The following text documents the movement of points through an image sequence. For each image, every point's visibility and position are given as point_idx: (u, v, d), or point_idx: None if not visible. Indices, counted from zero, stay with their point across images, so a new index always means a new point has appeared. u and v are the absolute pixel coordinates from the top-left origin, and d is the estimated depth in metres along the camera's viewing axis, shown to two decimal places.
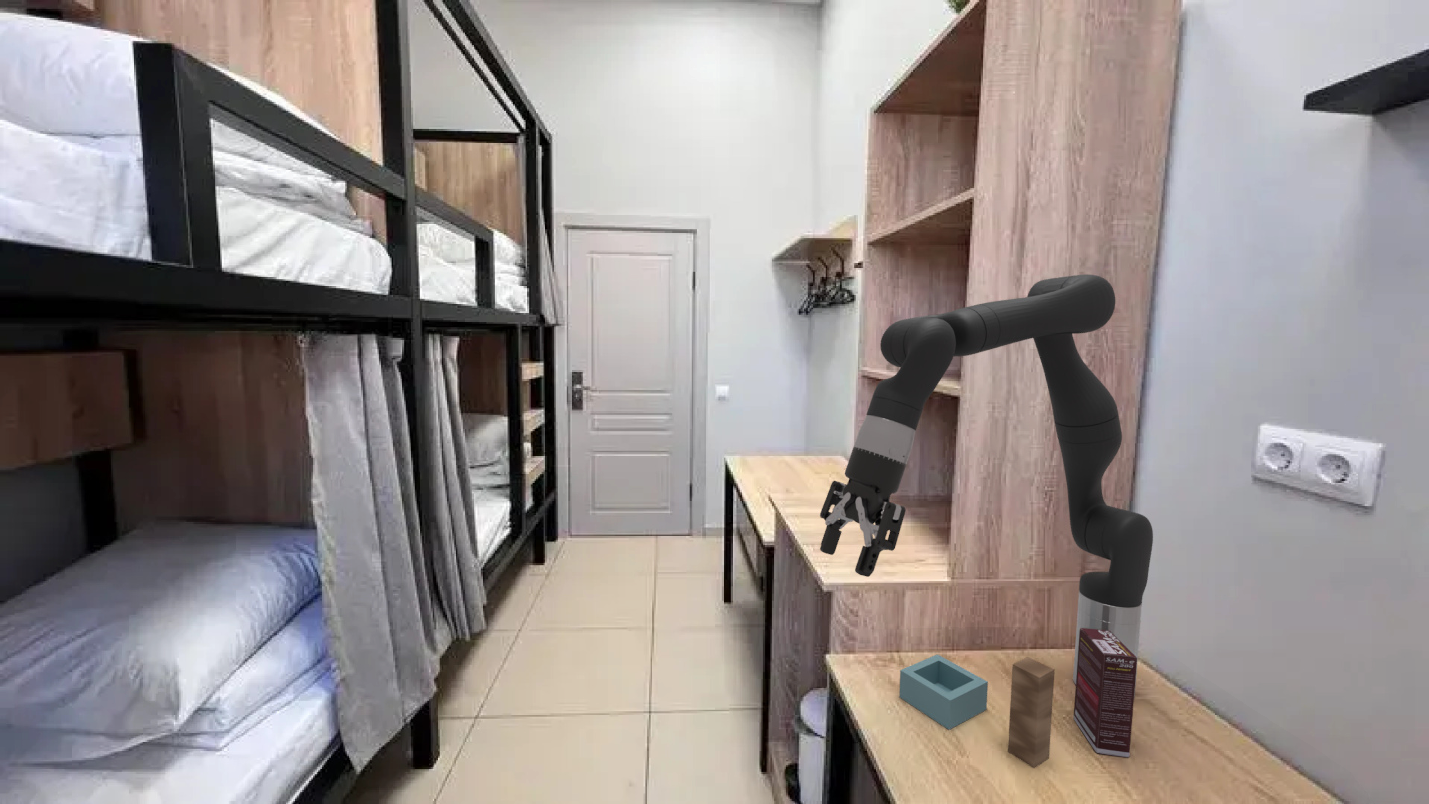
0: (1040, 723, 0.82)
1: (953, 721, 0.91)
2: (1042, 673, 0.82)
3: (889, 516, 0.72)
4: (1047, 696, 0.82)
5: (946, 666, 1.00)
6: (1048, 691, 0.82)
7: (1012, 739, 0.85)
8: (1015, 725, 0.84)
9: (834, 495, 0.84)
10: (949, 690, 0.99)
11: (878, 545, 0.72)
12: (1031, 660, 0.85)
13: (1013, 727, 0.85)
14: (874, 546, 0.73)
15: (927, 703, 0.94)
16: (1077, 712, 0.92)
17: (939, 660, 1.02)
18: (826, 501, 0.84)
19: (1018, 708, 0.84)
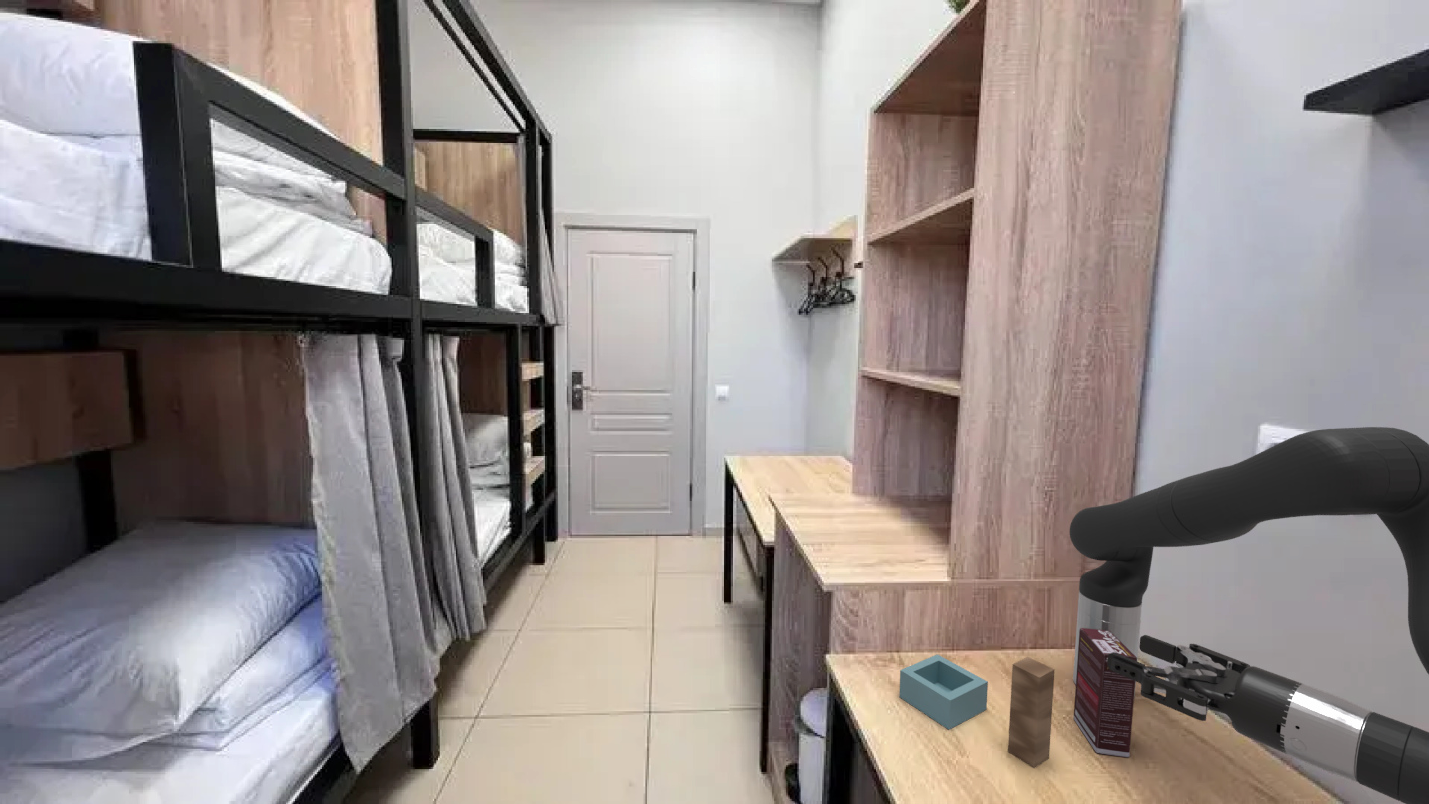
0: (1040, 723, 0.82)
1: (953, 721, 0.91)
2: (1042, 673, 0.82)
3: None
4: (1047, 696, 0.82)
5: (946, 666, 1.00)
6: (1048, 691, 0.82)
7: (1012, 739, 0.85)
8: (1015, 725, 0.84)
9: None
10: (949, 690, 0.99)
11: None
12: (1031, 660, 0.85)
13: (1013, 727, 0.85)
14: None
15: (927, 703, 0.94)
16: (1077, 712, 0.92)
17: (939, 660, 1.02)
18: None
19: (1018, 708, 0.84)
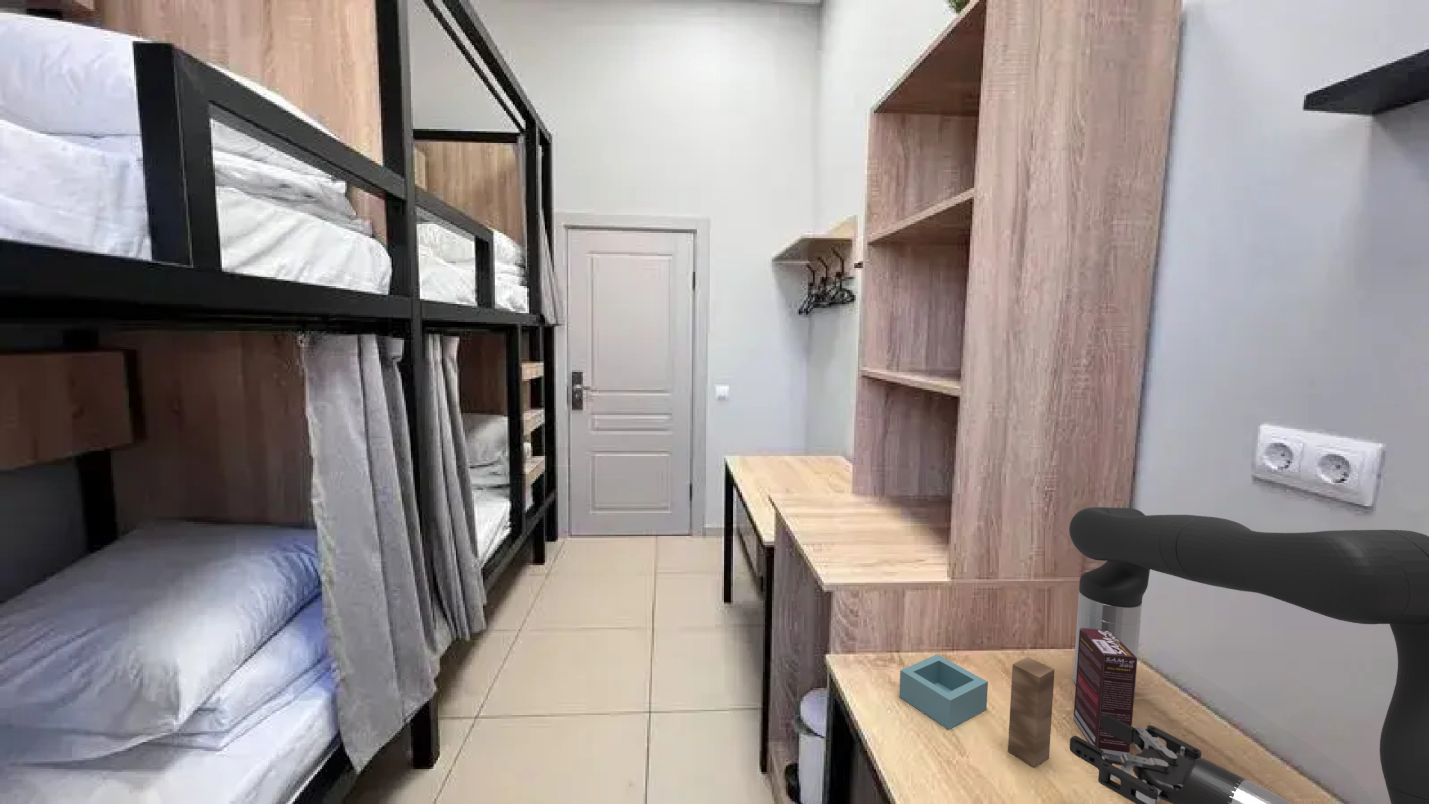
0: (1040, 723, 0.82)
1: (953, 721, 0.91)
2: (1042, 673, 0.82)
3: None
4: (1047, 696, 0.82)
5: (946, 666, 1.00)
6: (1048, 691, 0.82)
7: (1012, 739, 0.85)
8: (1015, 725, 0.84)
9: None
10: (949, 690, 0.99)
11: None
12: (1031, 660, 0.85)
13: (1013, 727, 0.85)
14: None
15: (927, 703, 0.94)
16: (1077, 712, 0.92)
17: (939, 660, 1.02)
18: None
19: (1018, 708, 0.84)
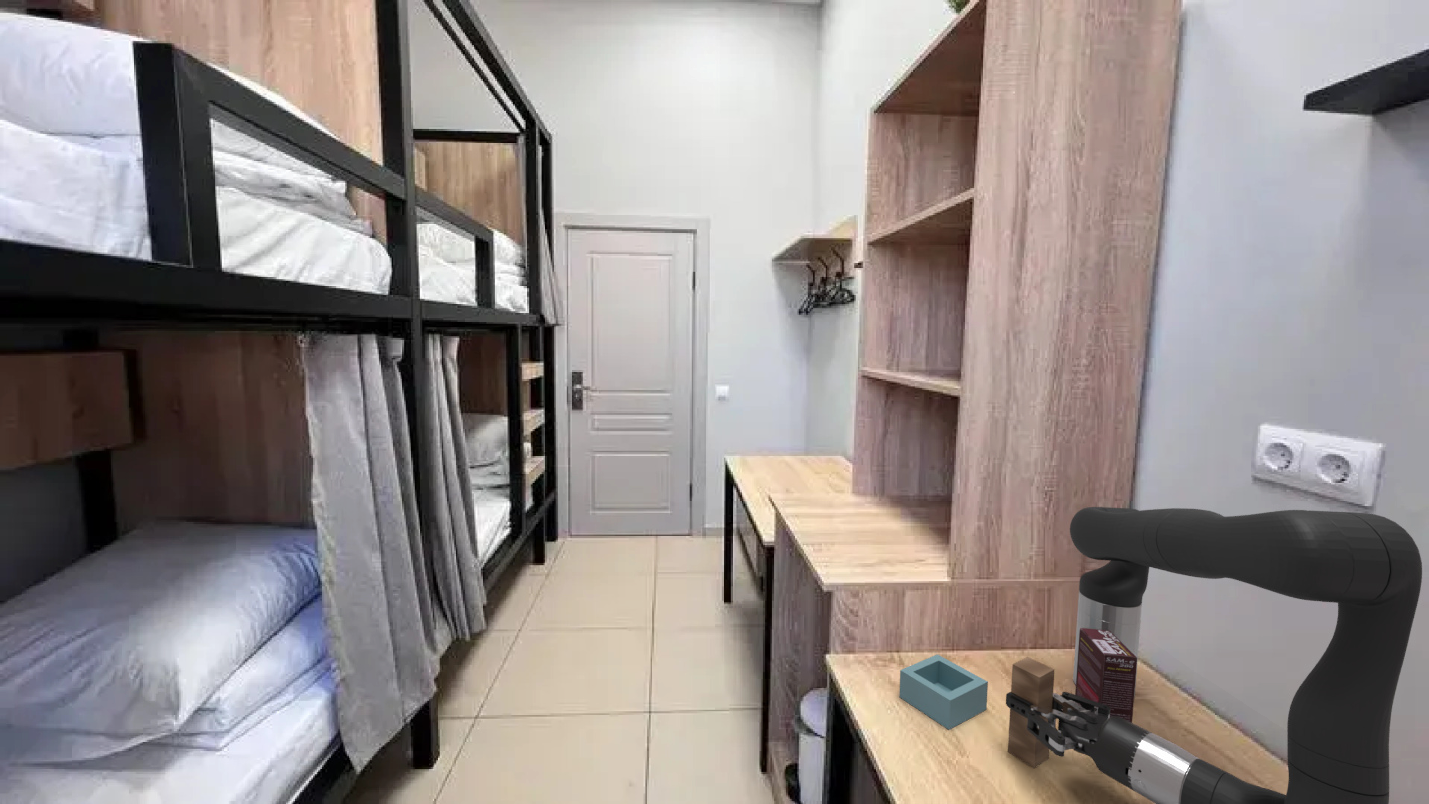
0: None
1: (953, 721, 0.91)
2: (1042, 673, 0.82)
3: None
4: (1047, 696, 0.82)
5: (946, 666, 1.00)
6: (1048, 691, 0.82)
7: (1012, 739, 0.85)
8: (1014, 725, 0.84)
9: None
10: (949, 690, 0.99)
11: None
12: (1031, 660, 0.85)
13: (1013, 727, 0.85)
14: None
15: (927, 703, 0.94)
16: None
17: (939, 660, 1.02)
18: None
19: None
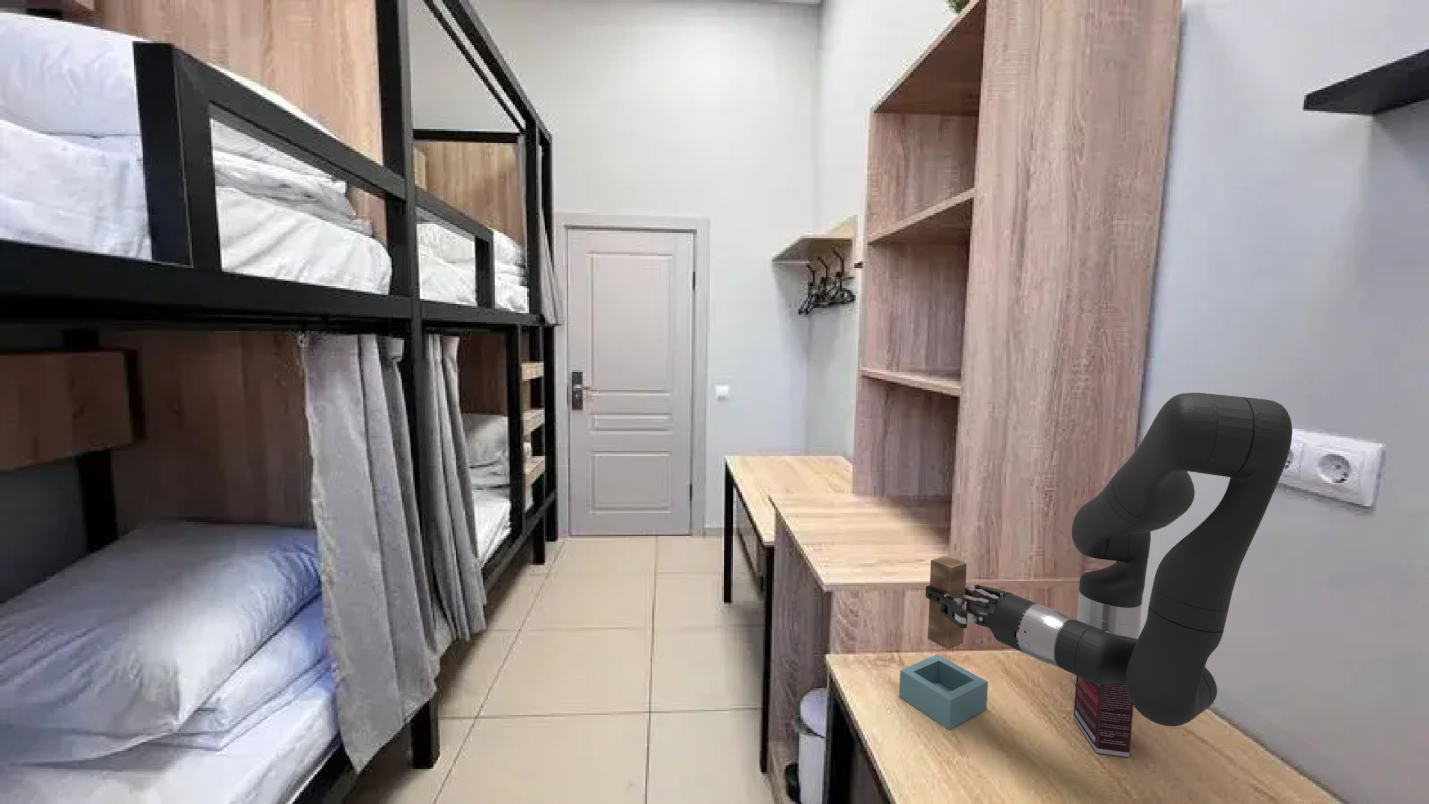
0: None
1: (953, 721, 0.91)
2: (954, 565, 0.93)
3: None
4: (960, 586, 0.94)
5: (946, 666, 1.00)
6: (960, 582, 0.94)
7: (931, 626, 0.96)
8: (933, 614, 0.96)
9: None
10: (949, 690, 0.99)
11: None
12: (948, 557, 0.96)
13: (932, 616, 0.96)
14: None
15: (927, 703, 0.94)
16: (1077, 712, 0.92)
17: (939, 660, 1.02)
18: None
19: None
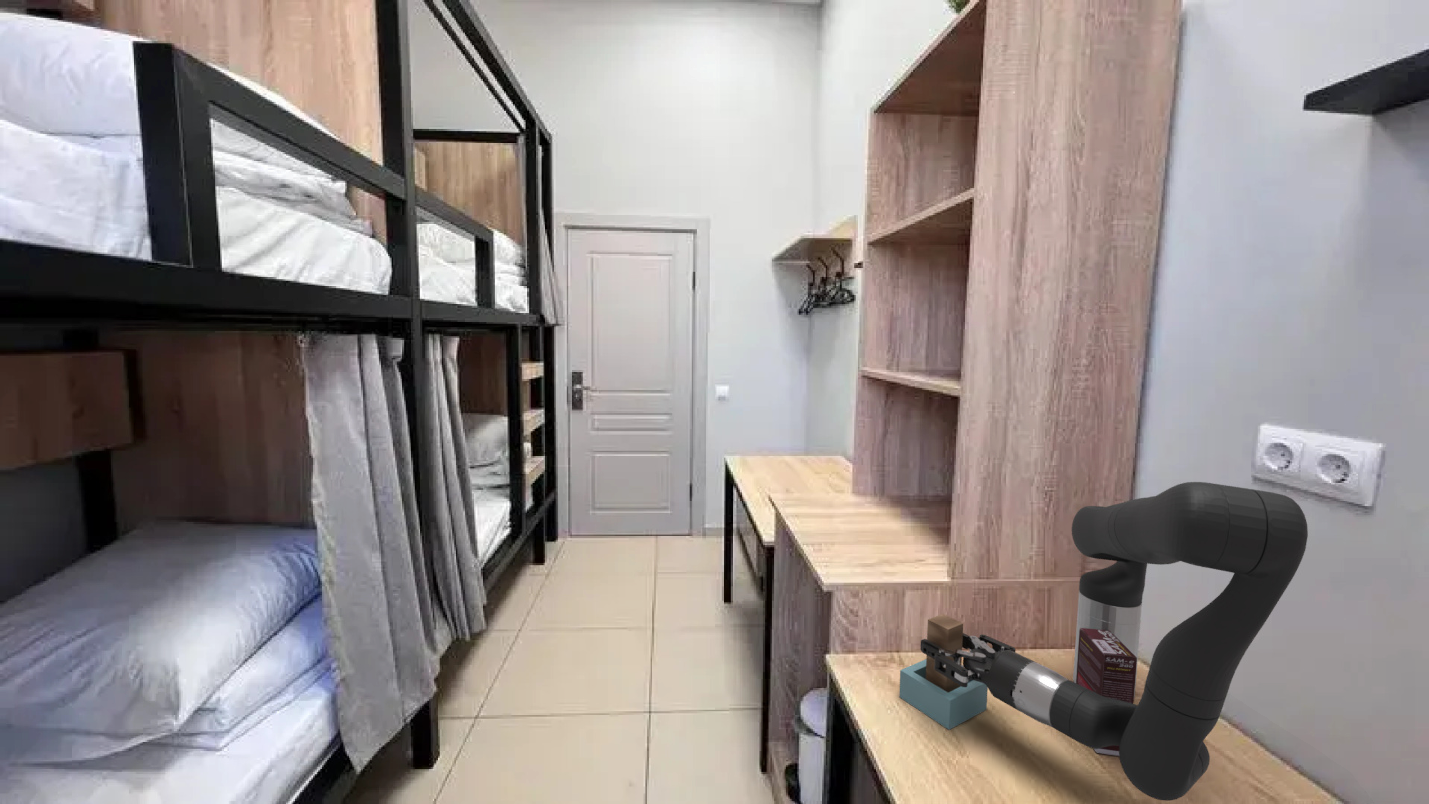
0: None
1: (953, 721, 0.91)
2: (951, 626, 0.94)
3: None
4: (956, 647, 0.95)
5: None
6: (957, 642, 0.95)
7: None
8: (930, 673, 0.97)
9: None
10: None
11: None
12: (945, 616, 0.97)
13: (929, 675, 0.97)
14: None
15: (927, 703, 0.94)
16: None
17: None
18: None
19: (932, 658, 0.96)
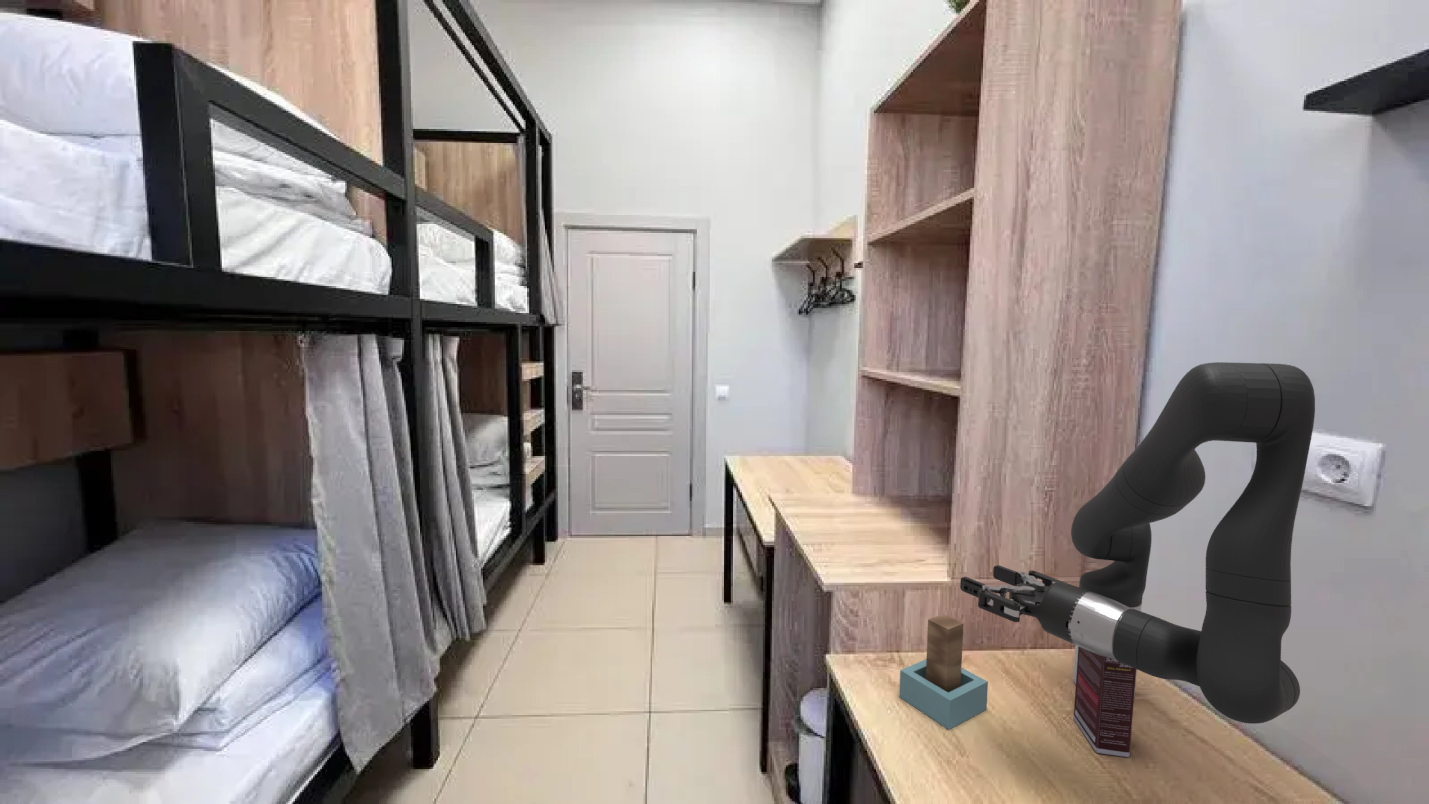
0: (950, 670, 0.94)
1: (953, 721, 0.91)
2: (951, 626, 0.94)
3: None
4: (957, 647, 0.95)
5: None
6: (957, 642, 0.95)
7: None
8: (930, 672, 0.97)
9: None
10: None
11: None
12: (945, 616, 0.97)
13: (929, 675, 0.97)
14: None
15: (927, 703, 0.94)
16: (1077, 712, 0.92)
17: None
18: None
19: (932, 658, 0.96)
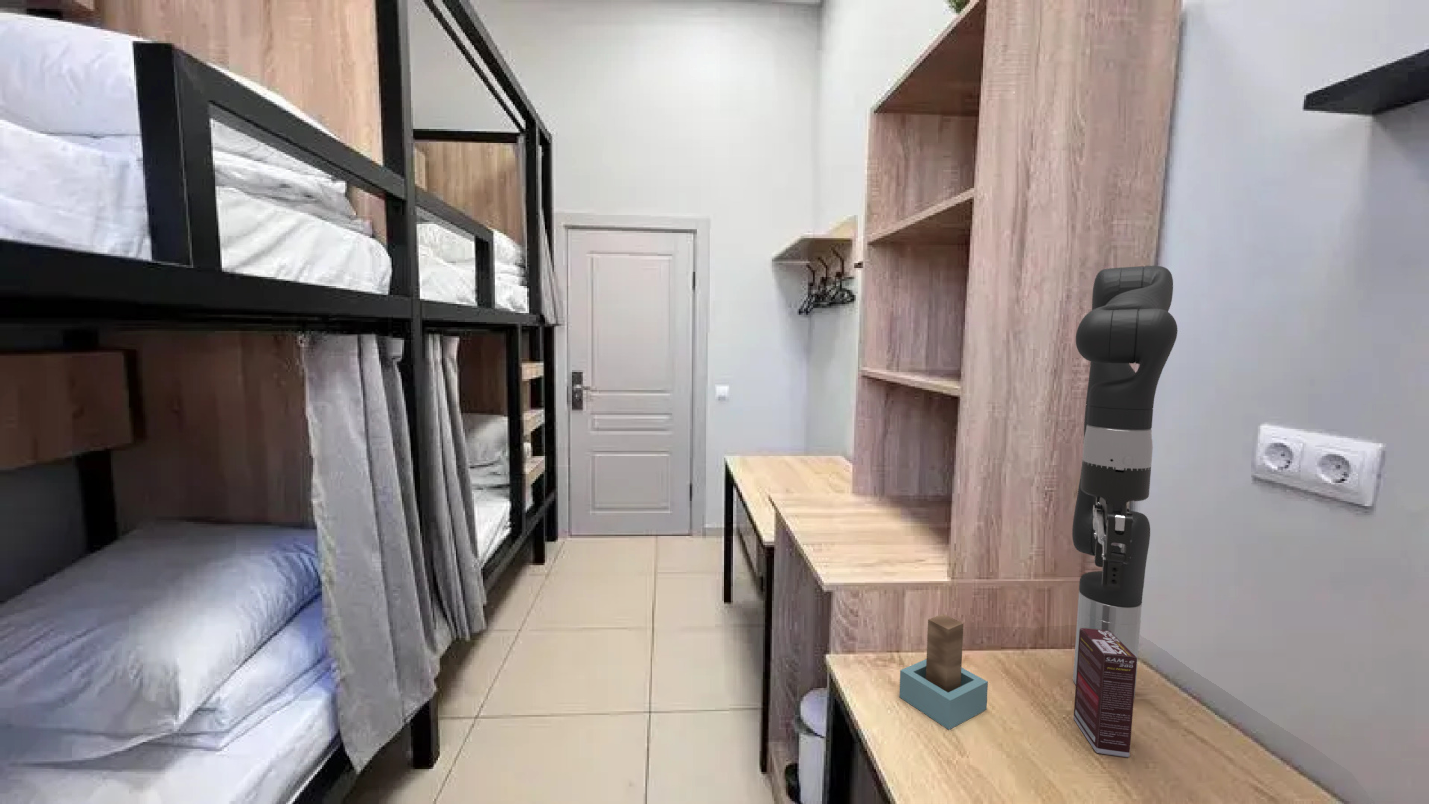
0: (950, 670, 0.94)
1: (953, 721, 0.91)
2: (951, 626, 0.94)
3: None
4: (957, 647, 0.95)
5: None
6: (957, 642, 0.95)
7: None
8: (930, 672, 0.97)
9: None
10: None
11: None
12: (945, 616, 0.97)
13: (929, 675, 0.97)
14: None
15: (927, 703, 0.94)
16: (1077, 712, 0.92)
17: None
18: None
19: (932, 658, 0.96)
